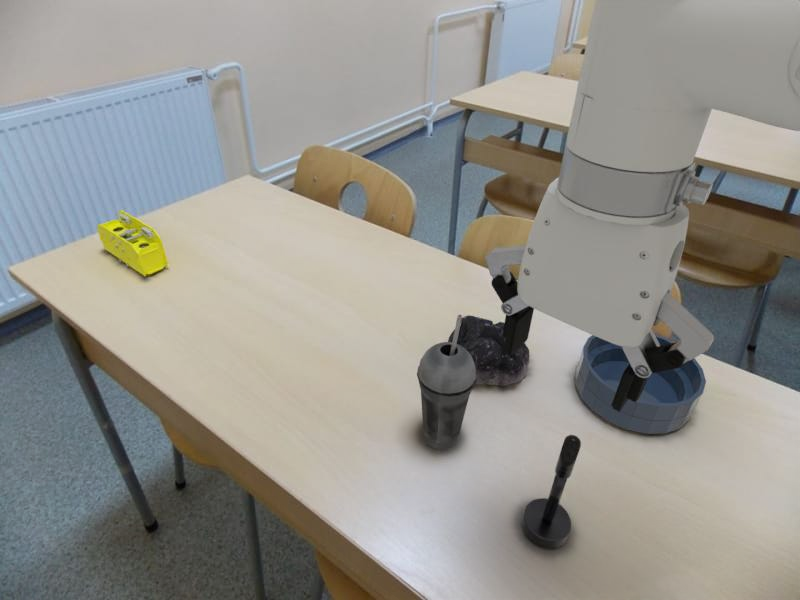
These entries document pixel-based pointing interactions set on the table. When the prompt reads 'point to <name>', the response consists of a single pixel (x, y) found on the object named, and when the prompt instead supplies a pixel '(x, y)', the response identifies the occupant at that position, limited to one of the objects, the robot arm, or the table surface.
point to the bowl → (660, 399)
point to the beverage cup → (445, 390)
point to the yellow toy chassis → (133, 243)
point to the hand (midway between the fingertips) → (565, 372)
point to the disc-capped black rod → (552, 504)
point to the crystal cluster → (491, 352)
